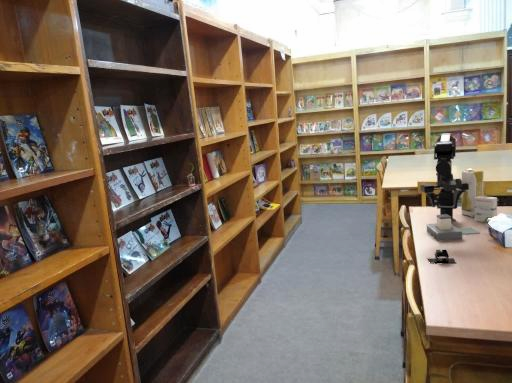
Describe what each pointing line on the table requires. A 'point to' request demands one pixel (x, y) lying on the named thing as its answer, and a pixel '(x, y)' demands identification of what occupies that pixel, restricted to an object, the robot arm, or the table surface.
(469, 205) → the juice carton
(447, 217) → the plug
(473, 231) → the mat
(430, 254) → the table surface
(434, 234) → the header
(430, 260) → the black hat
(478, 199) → the ink box
